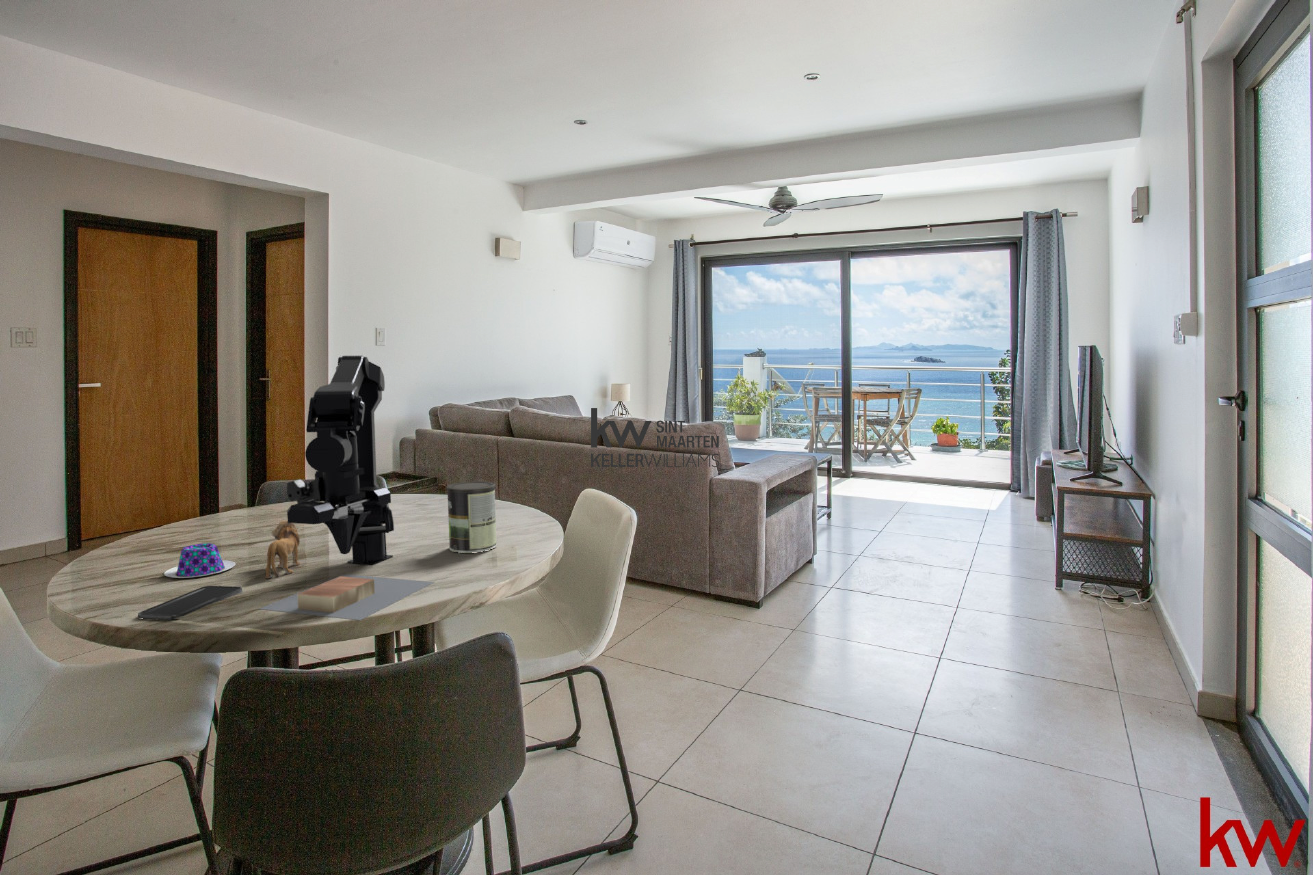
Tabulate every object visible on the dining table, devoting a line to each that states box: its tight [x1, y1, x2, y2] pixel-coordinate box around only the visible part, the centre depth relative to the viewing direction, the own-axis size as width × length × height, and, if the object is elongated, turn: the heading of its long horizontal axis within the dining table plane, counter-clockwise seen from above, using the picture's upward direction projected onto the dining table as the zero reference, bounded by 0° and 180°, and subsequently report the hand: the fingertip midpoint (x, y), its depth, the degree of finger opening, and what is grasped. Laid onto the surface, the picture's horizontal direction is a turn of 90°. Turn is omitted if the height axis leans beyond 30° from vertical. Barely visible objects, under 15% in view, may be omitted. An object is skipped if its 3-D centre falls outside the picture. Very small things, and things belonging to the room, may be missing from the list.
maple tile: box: [297, 575, 375, 613], centre depth 119 cm, size 2×7×10 cm
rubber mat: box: [258, 573, 435, 621], centre depth 123 cm, size 20×20×1 cm
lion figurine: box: [265, 519, 301, 579], centre depth 139 cm, size 15×5×9 cm, turn 21°
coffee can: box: [446, 480, 497, 554], centre depth 154 cm, size 10×10×14 cm
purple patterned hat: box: [163, 542, 236, 579], centre depth 140 cm, size 12×12×5 cm
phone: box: [137, 585, 243, 622], centre depth 120 cm, size 8×1×15 cm
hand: (345, 553), depth 121 cm, fingers closed
